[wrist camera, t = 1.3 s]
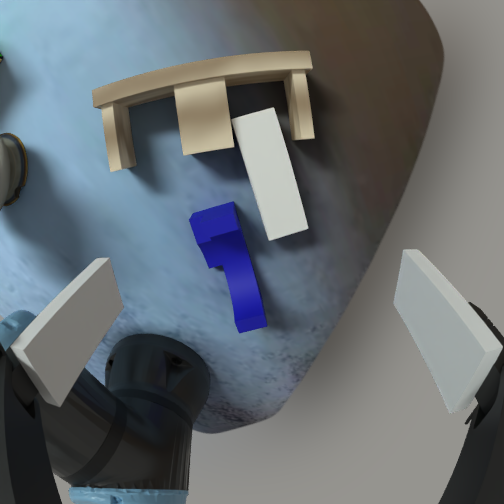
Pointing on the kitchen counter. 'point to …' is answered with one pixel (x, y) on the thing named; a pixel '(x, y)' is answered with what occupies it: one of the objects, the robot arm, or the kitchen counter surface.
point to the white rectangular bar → (270, 173)
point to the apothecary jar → (11, 168)
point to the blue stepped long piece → (231, 261)
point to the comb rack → (203, 100)
